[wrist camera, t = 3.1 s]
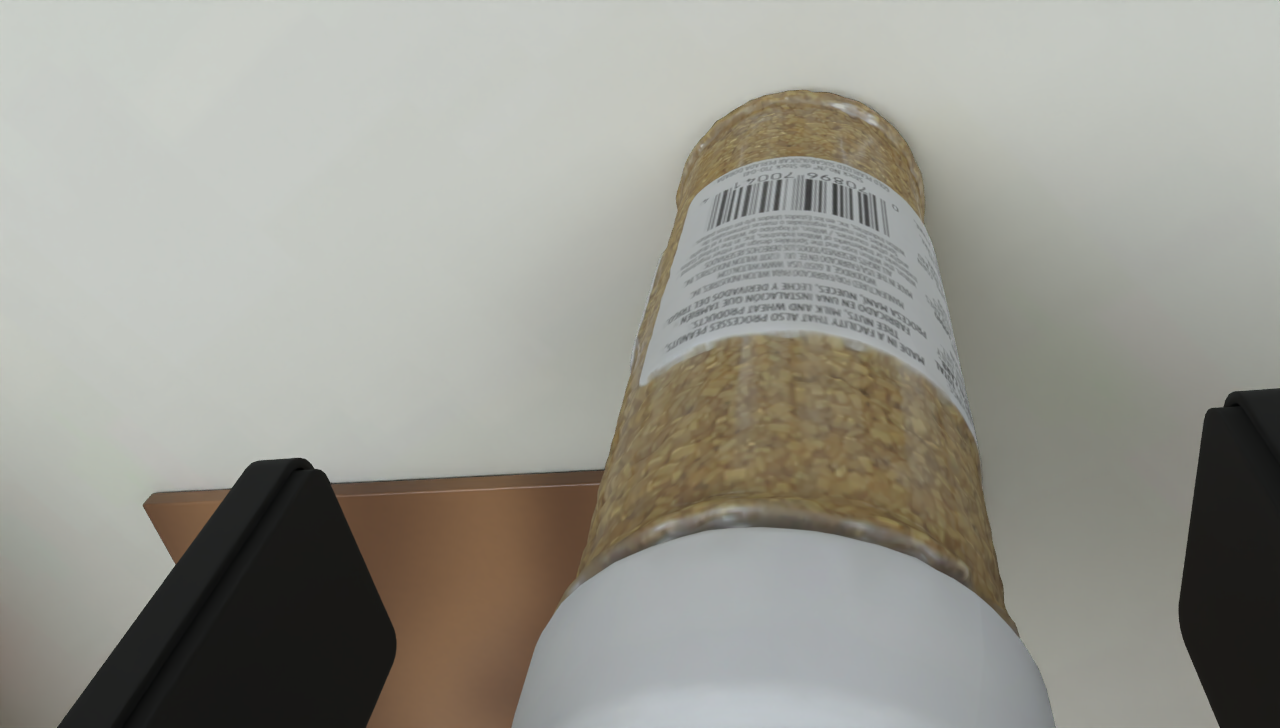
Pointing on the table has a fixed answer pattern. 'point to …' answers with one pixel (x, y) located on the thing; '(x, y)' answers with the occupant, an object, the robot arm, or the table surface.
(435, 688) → the wooden board
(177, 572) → the robot arm
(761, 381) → the spice jar
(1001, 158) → the table surface
